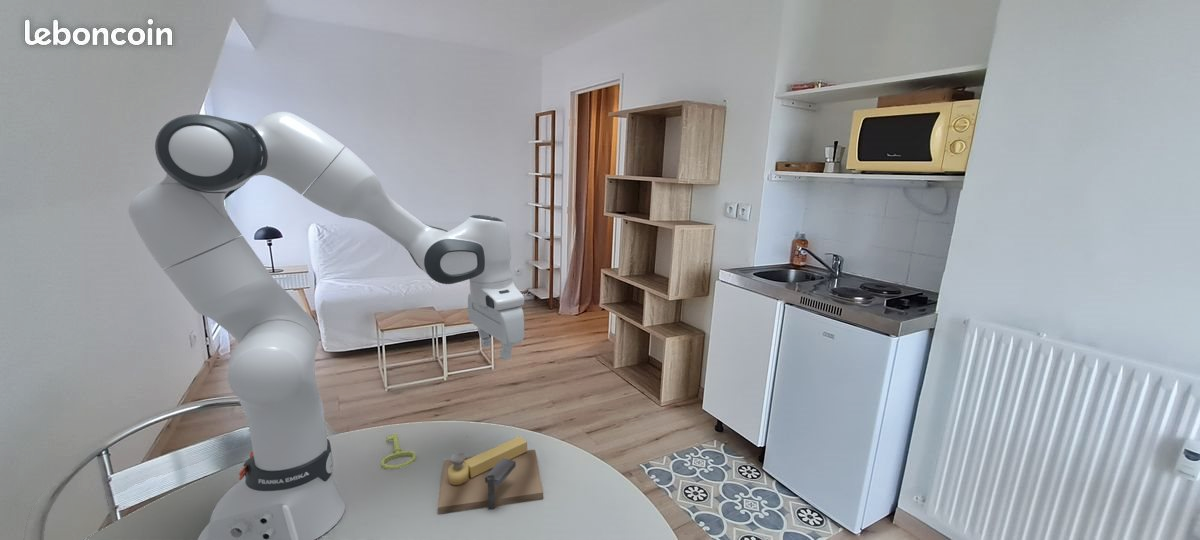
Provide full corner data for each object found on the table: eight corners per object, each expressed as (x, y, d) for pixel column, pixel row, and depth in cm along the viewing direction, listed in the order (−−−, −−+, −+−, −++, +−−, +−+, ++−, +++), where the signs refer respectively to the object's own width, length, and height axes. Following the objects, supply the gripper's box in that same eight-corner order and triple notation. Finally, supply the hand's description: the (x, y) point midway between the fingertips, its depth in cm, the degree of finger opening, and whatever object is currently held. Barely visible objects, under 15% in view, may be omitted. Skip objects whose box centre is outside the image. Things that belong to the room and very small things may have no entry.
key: (396, 439, 115) (396, 431, 114) (420, 462, 106) (419, 453, 106) (365, 451, 110) (365, 443, 109) (387, 476, 101) (386, 467, 101)
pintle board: (437, 519, 88) (435, 487, 87) (444, 466, 104) (442, 438, 103) (544, 503, 93) (543, 473, 92) (535, 455, 109) (535, 428, 107)
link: (454, 487, 95) (453, 477, 94) (445, 478, 97) (444, 467, 97) (528, 452, 107) (528, 442, 106) (518, 444, 110) (518, 435, 109)
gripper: (458, 284, 106) (463, 341, 109) (499, 304, 91) (503, 371, 94) (484, 279, 110) (488, 335, 113) (528, 298, 94) (531, 362, 98)
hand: (495, 351), depth 103 cm, fingers open, 8 cm apart
